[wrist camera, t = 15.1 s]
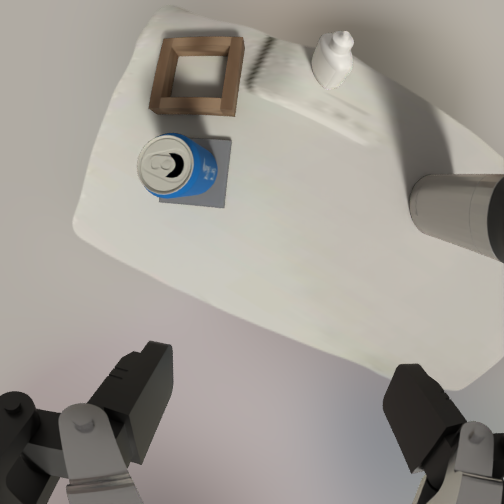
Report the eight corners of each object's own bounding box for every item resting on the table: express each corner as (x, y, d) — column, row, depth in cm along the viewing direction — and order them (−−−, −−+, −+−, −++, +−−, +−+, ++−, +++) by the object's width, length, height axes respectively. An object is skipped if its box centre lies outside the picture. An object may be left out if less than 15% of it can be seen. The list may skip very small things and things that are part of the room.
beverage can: (214, 198, 37) (192, 203, 25) (168, 192, 37) (128, 195, 25) (222, 150, 35) (203, 133, 24) (175, 145, 35) (138, 129, 24)
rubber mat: (231, 141, 36) (231, 140, 35) (224, 208, 38) (223, 208, 37) (167, 138, 36) (165, 137, 35) (160, 202, 38) (159, 202, 37)
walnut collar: (244, 48, 33) (243, 37, 29) (234, 116, 35) (232, 109, 32) (170, 48, 33) (163, 38, 29) (157, 114, 35) (148, 108, 32)
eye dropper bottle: (307, 86, 34) (323, 47, 22) (312, 53, 32) (328, 9, 21) (337, 93, 34) (364, 59, 22) (341, 61, 32) (367, 21, 21)
